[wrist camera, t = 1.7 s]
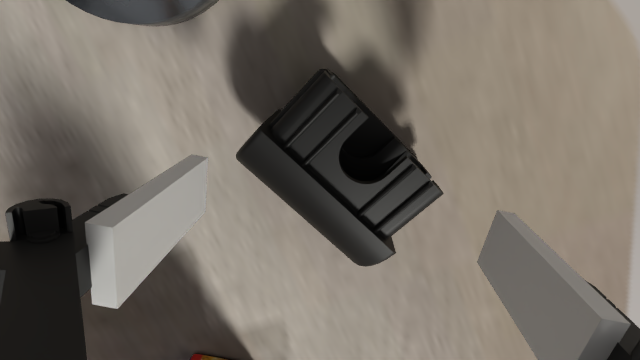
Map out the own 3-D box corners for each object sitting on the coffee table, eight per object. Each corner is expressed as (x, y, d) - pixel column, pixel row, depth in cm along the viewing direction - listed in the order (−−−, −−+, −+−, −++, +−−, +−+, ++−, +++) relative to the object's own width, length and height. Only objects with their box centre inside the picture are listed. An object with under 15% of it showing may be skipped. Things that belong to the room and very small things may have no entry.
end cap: (252, 138, 24) (219, 170, 17) (322, 61, 22) (315, 65, 15) (352, 229, 26) (355, 287, 19) (425, 166, 24) (456, 208, 17)
